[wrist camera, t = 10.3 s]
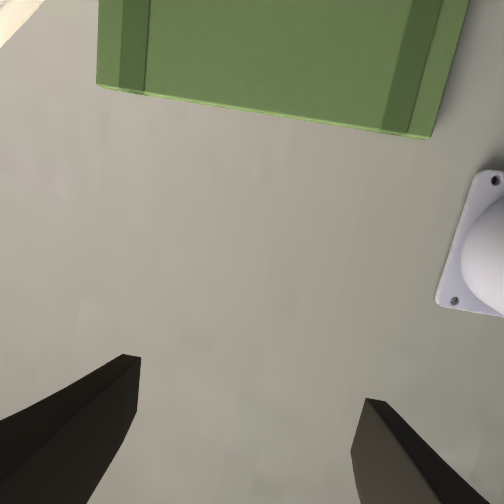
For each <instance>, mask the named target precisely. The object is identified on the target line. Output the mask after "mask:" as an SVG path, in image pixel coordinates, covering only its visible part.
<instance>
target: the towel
mask: <svg viewBox="0 0 504 504" xmlns="http://www.w3.org/2000/svg"><path fill="white" fill-rule="evenodd" d="M469 2H470V0H99V15H98V45H97V74H96V84H97V85H98V86H100V87H102V88H104V89H110V90H116V91H123V92H129V93H135V94H141V95H148V96H154V97H160V98H167V99H173V100H179V101H185V102H192V103H198V104H204V105H210V106H217V107H223V108H229V109H236V110H242V111H248V112H254V113H261V114H267V115H273V116H279V117H286V118H292V119H298V120H304V121H311V122H317V123H323V124H329V125H336V126H342V127H348V128H355V129H361V130H367V131H373V132H379V133H385V134H392V135H398V136H405V137H411V138H417V139H423V140H424V139H428V138H431V135H432V132H433V128H434V125H435V121H436V118H437V114H438V111H439V107H440V104H441V100H442V97H443V93H444V89H445V86H446V82H447V79H448V75H449V72H450V68H451V65H452V61H453V58H454V54H455V51H456V47H457V44H458V40H459V37H460V33H461V30H462V26H463V23H464V19H465V16H466V12H467V9H468V5H469Z"/></svg>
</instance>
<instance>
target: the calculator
mask: <svg viewBox="0 0 504 504" xmlns="http://www.w3.org/2000/svg"><path fill="white" fill-rule="evenodd" d="M43 2H44V0H0V47H1V46H2V45H3V44H4V43H5V42H6V41H7V40H8V39H9V38H10V37H11V36H12V35H13V34H14V33H15V32H16V31H17V30H18V29H19V28H20V27H21V26H22V25H23V24H24V23H25V22H26V21H27V20H28V19H29V18H30V17H31V16H32V15H33V14H34V12H35V11H36V10H37V9H38V8H39V7H40V6H41V4H42V3H43Z"/></svg>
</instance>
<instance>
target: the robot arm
mask: <svg viewBox="0 0 504 504" xmlns="http://www.w3.org/2000/svg"><path fill="white" fill-rule="evenodd" d="M494 176H496V178H497V181H496V183H495V184H492V183H491V179H492V178H493V177H494ZM453 297H456V300H455V301H454V302H450V300H451V298H453ZM435 301H436V302H437V303H438V304H439V305H440V306H443V307H448V308H453V309H459V310H465V311H470V312H476V313H482V314H487V315H493V316H499V317H504V171H498V170H492V169H482V170H479V171H478V172H477V173H476V174H475V176H474V178H473V181H472V184H471V187H470V190H469V193H468V196H467V199H466V202H465V205H464V208H463V211H462V215H461V218H460V221H459V224H458V227H457V230H456V233H455V236H454V239H453V242H452V245H451V248H450V251H449V254H448V258H447V261H446V264H445V267H444V270H443V273H442V276H441V279H440V282H439V285H438V288H437V291H436V294H435ZM140 367H141V357H136V356H131V355H125V354H122V355H120V356H118V357H117V358H115V359H113V360H111V361H110V362H108V363H106V364H105V365H103V366H101V367H100V368H98V369H96V370H95V371H93V372H91V373H90V374H88V375H86V376H85V377H83V378H81V379H79V380H78V381H76V382H74V383H72V384H71V385H69V386H67V387H66V388H64V389H62V390H60V391H58V392H56V393H54V394H52V395H51V396H49V397H47V398H45V399H43V400H41V401H39V402H37V403H35V404H34V405H32V406H30V407H28V408H26V409H24V410H22V411H20V412H18V413H15V414H13V415H11V416H9V417H7V418H5V419H3V420H0V504H86V503H87V502H88V500H89V498H90V497H91V495H92V493H93V492H94V490H95V488H96V487H97V485H98V483H99V482H100V480H101V478H102V477H103V475H104V473H105V472H106V470H107V468H108V467H109V465H110V463H111V462H112V460H113V458H114V457H115V455H116V453H117V451H118V450H119V448H120V446H121V445H122V443H123V441H124V438H125V436H126V434H127V432H128V430H129V428H130V425H131V423H132V421H133V419H134V416H135V414H136V412H137V403H138V391H139V379H140ZM351 457H352V464H353V471H354V476H355V482H356V487H357V491H358V495H359V499H360V502H361V504H490V503H489V502H488V501H486V500H485V499H484V498H483V497H482V496H481V495H480V494H479V493H478V492H477V491H475V490H474V489H473V488H472V487H471V486H470V485H469V484H468V483H467V482H466V481H465V480H464V479H463V478H462V477H460V476H459V475H458V474H457V473H456V472H455V471H454V470H453V469H452V468H451V467H450V466H449V465H448V464H447V463H446V462H445V461H444V460H443V459H442V458H441V457H440V456H439V455H438V454H437V453H436V452H435V451H434V450H433V449H432V448H431V447H430V446H429V445H428V444H427V443H426V442H425V441H424V440H423V439H422V438H421V437H420V436H419V435H418V434H417V433H416V432H415V431H414V430H413V429H412V428H411V427H410V426H409V424H408V423H407V422H406V421H405V420H404V419H403V418H402V417H401V416H400V415H399V414H398V413H397V412H396V411H395V410H394V409H393V408H392V407H391V406H390V405H389V404H388V403H386V402H385V401H380V400H375V399H369V398H366V399H365V402H364V406H363V409H362V413H361V416H360V420H359V423H358V427H357V430H356V433H355V437H354V440H353V444H352V447H351Z"/></svg>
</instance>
